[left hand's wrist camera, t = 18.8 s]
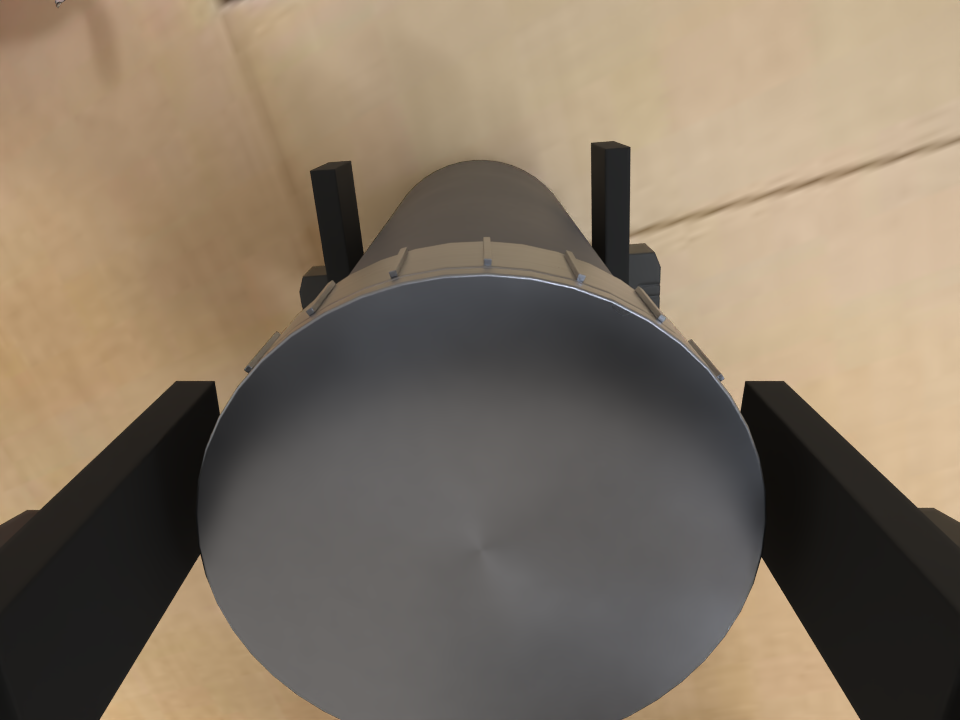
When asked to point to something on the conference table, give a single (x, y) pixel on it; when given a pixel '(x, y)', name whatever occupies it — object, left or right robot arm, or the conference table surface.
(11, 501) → the conference table surface
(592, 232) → the right robot arm
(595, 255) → the jar
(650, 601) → the lid
